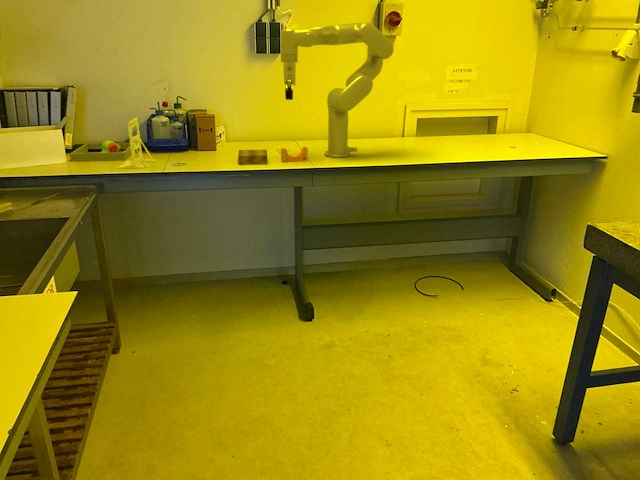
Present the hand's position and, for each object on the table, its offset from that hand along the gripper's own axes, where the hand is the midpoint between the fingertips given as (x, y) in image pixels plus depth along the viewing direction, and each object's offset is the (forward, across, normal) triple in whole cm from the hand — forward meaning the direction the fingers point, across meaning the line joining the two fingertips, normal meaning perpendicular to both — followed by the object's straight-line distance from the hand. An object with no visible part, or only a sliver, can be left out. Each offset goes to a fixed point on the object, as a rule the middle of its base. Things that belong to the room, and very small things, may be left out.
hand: (289, 98), depth 236 cm
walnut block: (+28, -6, +17) cm, 33 cm away
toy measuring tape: (+30, +10, +88) cm, 94 cm away
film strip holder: (+29, -10, +68) cm, 75 cm away
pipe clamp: (+28, -5, -2) cm, 29 cm away
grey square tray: (+29, +10, +88) cm, 93 cm away
